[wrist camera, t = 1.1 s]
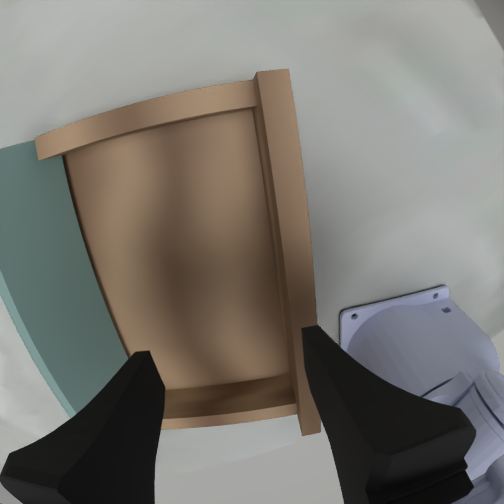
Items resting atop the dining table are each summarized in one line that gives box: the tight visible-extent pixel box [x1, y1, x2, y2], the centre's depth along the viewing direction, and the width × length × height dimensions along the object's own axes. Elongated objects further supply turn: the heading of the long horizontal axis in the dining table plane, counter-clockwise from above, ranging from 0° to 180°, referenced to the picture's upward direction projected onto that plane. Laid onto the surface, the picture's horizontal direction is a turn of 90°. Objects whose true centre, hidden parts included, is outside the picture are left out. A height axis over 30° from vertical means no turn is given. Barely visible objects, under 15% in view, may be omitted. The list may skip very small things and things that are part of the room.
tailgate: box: [0, 140, 128, 418], centre depth 16 cm, size 1×20×6 cm, turn 8°
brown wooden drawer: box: [34, 69, 321, 436], centre depth 17 cm, size 13×20×6 cm, turn 9°
